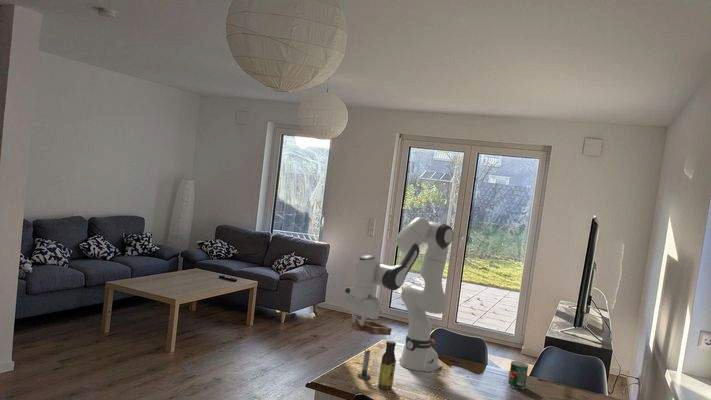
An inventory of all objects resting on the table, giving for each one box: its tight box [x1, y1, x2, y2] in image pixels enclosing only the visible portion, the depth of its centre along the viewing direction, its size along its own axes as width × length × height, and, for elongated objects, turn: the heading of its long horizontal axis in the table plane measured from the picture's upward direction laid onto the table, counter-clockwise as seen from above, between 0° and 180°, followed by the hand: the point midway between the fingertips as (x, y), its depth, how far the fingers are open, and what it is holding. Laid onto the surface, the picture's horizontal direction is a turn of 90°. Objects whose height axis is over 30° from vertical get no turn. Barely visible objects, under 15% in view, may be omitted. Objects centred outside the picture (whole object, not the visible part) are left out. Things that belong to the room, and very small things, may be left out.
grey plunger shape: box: [356, 349, 371, 380], centre depth 252 cm, size 6×6×12 cm
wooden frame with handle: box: [351, 319, 393, 336], centre depth 251 cm, size 16×12×4 cm
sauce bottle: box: [377, 340, 397, 390], centre depth 243 cm, size 7×6×20 cm
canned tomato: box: [507, 360, 529, 388], centre depth 268 cm, size 8×8×11 cm
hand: (358, 323), depth 246 cm, fingers closed on wooden frame with handle, 2 cm apart
